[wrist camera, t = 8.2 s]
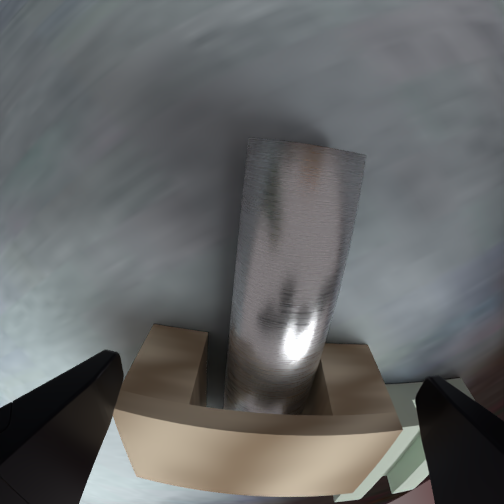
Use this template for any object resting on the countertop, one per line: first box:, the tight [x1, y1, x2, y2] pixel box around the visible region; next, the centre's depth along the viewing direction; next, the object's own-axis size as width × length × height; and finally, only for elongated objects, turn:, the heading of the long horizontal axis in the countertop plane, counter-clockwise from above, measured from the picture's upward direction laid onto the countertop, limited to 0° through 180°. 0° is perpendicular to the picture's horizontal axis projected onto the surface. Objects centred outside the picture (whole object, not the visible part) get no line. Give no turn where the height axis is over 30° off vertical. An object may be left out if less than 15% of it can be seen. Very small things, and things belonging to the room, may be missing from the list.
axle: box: [223, 137, 366, 415], centre depth 13 cm, size 16×4×4 cm, turn 174°
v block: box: [333, 378, 475, 502], centre depth 16 cm, size 7×10×4 cm
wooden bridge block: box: [113, 324, 403, 497], centre depth 13 cm, size 11×6×6 cm, turn 84°
